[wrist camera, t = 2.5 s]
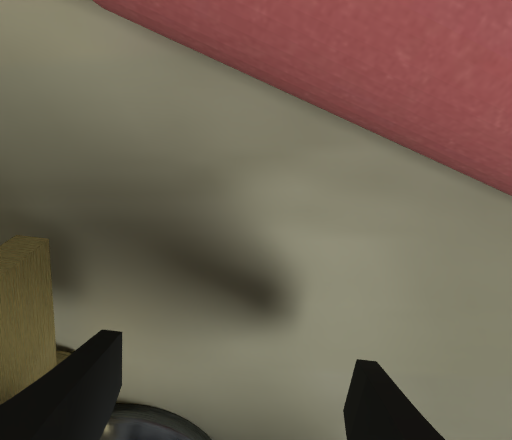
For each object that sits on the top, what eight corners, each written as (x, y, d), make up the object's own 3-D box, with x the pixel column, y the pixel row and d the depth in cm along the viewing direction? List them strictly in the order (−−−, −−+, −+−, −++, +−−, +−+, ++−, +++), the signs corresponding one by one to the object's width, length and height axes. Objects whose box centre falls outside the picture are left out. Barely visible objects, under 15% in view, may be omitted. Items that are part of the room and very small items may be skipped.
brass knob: (99, 414, 16) (41, 535, 12) (26, 405, 16) (-59, 525, 12) (96, 228, 14) (17, 301, 9) (7, 217, 13) (-114, 286, 9)
